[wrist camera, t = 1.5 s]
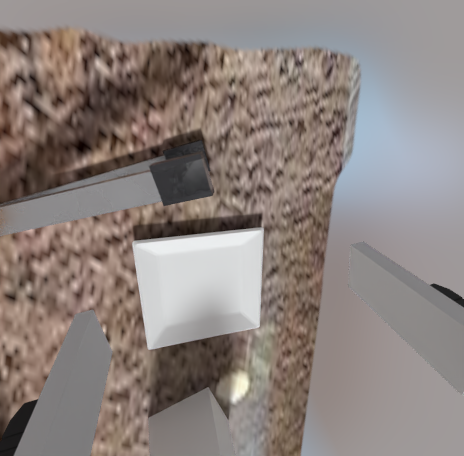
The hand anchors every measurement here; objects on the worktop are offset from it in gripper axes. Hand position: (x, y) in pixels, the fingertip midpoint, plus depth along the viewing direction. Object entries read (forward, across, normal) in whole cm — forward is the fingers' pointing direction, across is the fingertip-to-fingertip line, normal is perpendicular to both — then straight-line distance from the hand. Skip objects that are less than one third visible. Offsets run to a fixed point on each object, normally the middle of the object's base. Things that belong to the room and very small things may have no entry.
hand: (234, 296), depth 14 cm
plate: (+25, +2, +17) cm, 30 cm away
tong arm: (+19, +11, -2) cm, 22 cm away
